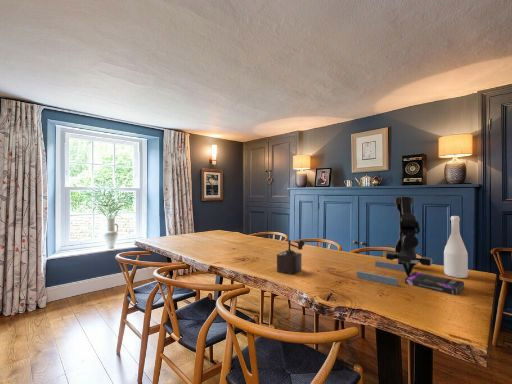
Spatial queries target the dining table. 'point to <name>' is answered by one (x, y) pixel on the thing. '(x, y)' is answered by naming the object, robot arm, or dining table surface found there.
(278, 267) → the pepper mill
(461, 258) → the wine bottle
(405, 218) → the robot arm
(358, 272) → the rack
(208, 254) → the dining table surface
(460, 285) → the box
